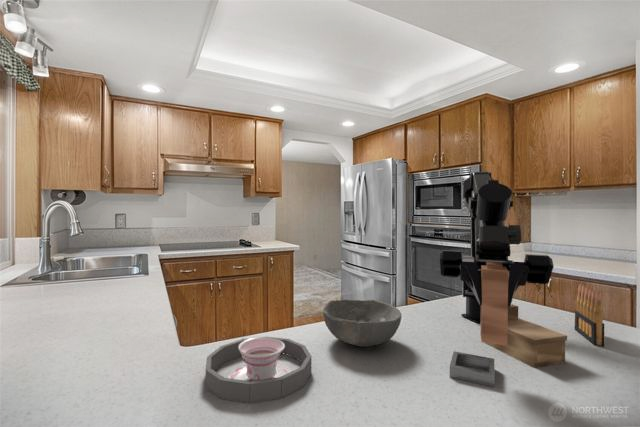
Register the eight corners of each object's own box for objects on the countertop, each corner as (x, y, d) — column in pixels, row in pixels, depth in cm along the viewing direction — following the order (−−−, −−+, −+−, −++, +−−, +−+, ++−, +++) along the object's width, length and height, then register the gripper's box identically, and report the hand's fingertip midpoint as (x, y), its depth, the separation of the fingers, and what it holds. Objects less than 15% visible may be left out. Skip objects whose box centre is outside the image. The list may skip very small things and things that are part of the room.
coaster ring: (208, 357, 67) (208, 342, 67) (297, 346, 73) (297, 333, 73) (203, 410, 50) (203, 390, 50) (322, 391, 55) (322, 373, 55)
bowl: (403, 363, 65) (403, 323, 65) (315, 355, 69) (315, 317, 69) (399, 331, 83) (399, 299, 83) (330, 325, 86) (330, 295, 86)
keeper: (453, 361, 66) (453, 351, 66) (494, 369, 63) (494, 358, 63) (449, 377, 60) (449, 366, 60) (494, 387, 57) (494, 375, 57)
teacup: (307, 374, 61) (307, 341, 61) (264, 408, 51) (265, 368, 50) (257, 359, 67) (257, 329, 67) (210, 386, 57) (210, 350, 57)
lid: (481, 322, 76) (481, 305, 76) (510, 319, 79) (510, 302, 79) (534, 345, 63) (534, 324, 63) (566, 340, 66) (567, 320, 66)
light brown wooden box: (482, 341, 76) (483, 323, 76) (510, 338, 78) (510, 320, 78) (533, 367, 64) (534, 345, 64) (564, 362, 66) (565, 340, 66)
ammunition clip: (604, 347, 74) (605, 293, 74) (594, 345, 74) (595, 292, 74) (583, 330, 84) (583, 283, 84) (574, 329, 84) (574, 282, 84)
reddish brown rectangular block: (480, 334, 62) (481, 261, 62) (504, 337, 61) (505, 262, 60) (481, 342, 59) (482, 264, 58) (507, 345, 57) (508, 266, 57)
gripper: (440, 210, 67) (436, 274, 57) (551, 210, 59) (569, 285, 49) (442, 245, 74) (439, 307, 64) (541, 249, 67) (554, 321, 57)
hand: (494, 305), depth 58 cm, fingers closed on reddish brown rectangular block, 4 cm apart
